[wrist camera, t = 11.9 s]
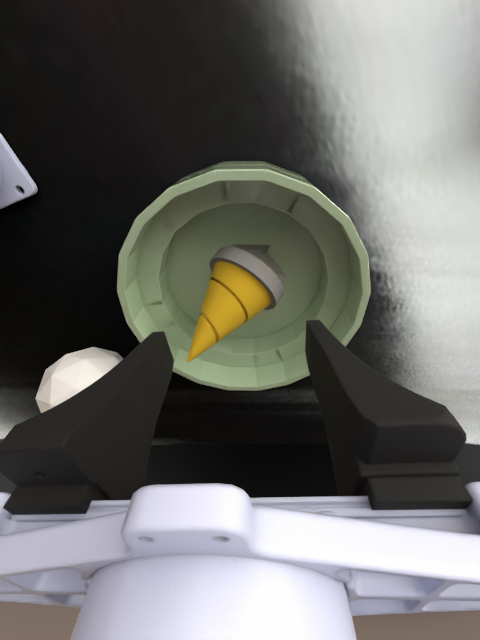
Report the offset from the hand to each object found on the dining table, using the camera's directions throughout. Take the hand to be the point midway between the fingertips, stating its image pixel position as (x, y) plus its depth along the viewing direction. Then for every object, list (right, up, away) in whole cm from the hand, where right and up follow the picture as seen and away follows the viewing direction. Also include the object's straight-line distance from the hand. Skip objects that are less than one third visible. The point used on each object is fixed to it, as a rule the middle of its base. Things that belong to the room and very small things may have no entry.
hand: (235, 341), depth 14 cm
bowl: (0, +5, +8) cm, 9 cm away
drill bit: (0, +4, +7) cm, 9 cm away
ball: (-13, -3, +14) cm, 19 cm away
